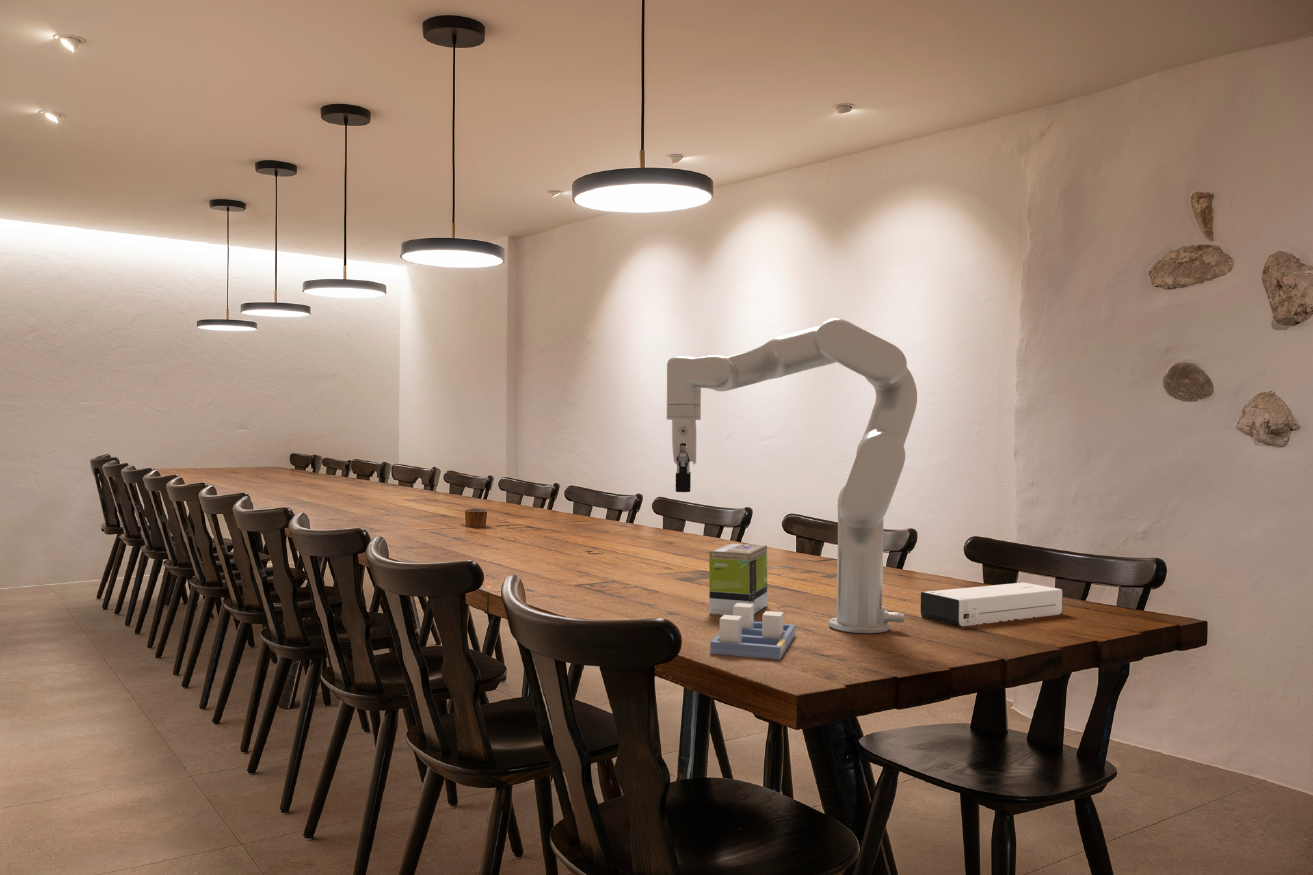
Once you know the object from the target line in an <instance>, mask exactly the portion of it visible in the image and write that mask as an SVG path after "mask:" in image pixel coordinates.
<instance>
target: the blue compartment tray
mask: <svg viewBox="0 0 1313 875" xmlns="http://www.w3.org/2000/svg"><path fill="white" fill-rule="evenodd" d="M795 636H796V623H795V624H792V623H783V636H782V638H777V637H764V636H762V621H755V620H754V628H743V627H742V642H741V643H740V642H728V641H719V633H718V634H717V635H716V636H715V637H714V638H712V640H710V643H709V645H710V649H709V653H710V655H712V654H713V655H722V656H723V655H724V656H732V657H744V658H745V657H746V658H757V659H758V658H759V659H769V660H779V661H780V660H781V659H782V657H783V655H784V654H785V653H786V651H787V649H788V648H789V646H790V644H791V643H792V641H793V639H794V638H795Z"/></svg>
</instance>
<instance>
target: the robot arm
mask: <svg viewBox="0 0 1313 875" xmlns="http://www.w3.org/2000/svg"><path fill="white" fill-rule="evenodd" d="M907 361H908V360H907V358H906V356H905V353H904V352H903V351H902V349H900V348H899V347H898V346H896V345H895V344H893V343H891V342H889V341H887V340H885V339H884V338H882V337H880V336H877V335H875V334H873V333H871V332H869V331H867V330H865V329H863V328H862V327H859V326H858V325H856V324H854V323H851V322H850V321H848V320H845V319H842V318H830V319H828V320H826V321H824V322H822V323H821V325H819V326H815V327H812V328H808V329H805V330H801V331H797V332H793V333H789V334H785V335H781V336H778V337H775V338H772V339H770V340H768V341H767V342H765V343H764V344H763V345H761V346H758V347H756V348H754V349H751V350H748V351H745V352H741V353H737V354H735V355H730V356H723V355H720V354H717V355H715V354H714V355H706V356H701V357H700V356H699V357H693V356H675V357H671V358H669V359H668V360H667V364H666V420H668V421H671V437H672V438H671V443H672V457H673V463H674V465H676V473H675V492H676V493H690V492H691V481H692V480H691V478H692V477H691V476H692V475H691V474H692V473H691V470H690V463H692V465H696V464H697V421H700V420H702V419H701V418H702V417H701V413H702V406H701V404H702V402H701V401H702V395H701V394H702V391H701V390H702V389H709V390H713V391H716V392H727V391H733V390H736V389H738V388H739V389H740V388H743V387H746V386H750V385H751V386H752V385H754V384H757V383H761V382H762V383H763V382H765V381H769V380H774V379H780V378H782V377H786V376H790V375H793V374H797V373H801V372H804V371H808V370H809V371H810V370H811V369H816V368H820V367H824V366H827V365H828V366H829V365H832V364H834V363H838V364H840V365H841V366H843V367H845V368H848V370H850V371H853V372H855V373H856V374H859V375H860V376H862V377H864V378H865V379H866V381H868V383H869V384H871V385H872V387H873V388H874V391H875V400H874V405H873V408H872V411H871V415H870V417H869V420H868V423H867V426H866V429H865V431H864V433H863V435H862V438H861V440H860V441H859V443H858V444H857V448H856V453H855V454H856V455H855V459H854V460H853V461H854V462H853V464H852V467H851V469H850V472H849V475H848V478H847V481H846V484H845V485H844V486H843V487H842V488H841V490H840V492H839V494H838V498H837V560H836V561H837V564H836V565H837V566H836V568H837V570H836V571H837V572H836V575H837V576H836V578H837V579H836V617H835V616H834V617H832V618H830V619H829V621H828V626H829V627H830V628H832V629H835V630H837V631H841V632H847V633H854V634H855V633H856V634H879V633H885V632H889V630H890V623H889V622H892V623H896V624H897V623H898V624H899V623H900V624H904V623H905V614H904V613H900V612H897V611H894V612H893V611H891V612H890V611H888V610H885V605H883V583H884V582H883V581H884V517H885V516H886V513H887V511H888V508H889V506H890V504H891V502H892V498H893V497H894V496H893V495H894V493H895V491H896V489H897V486H898V483H899V479H900V477H901V475H902V472H903V469H904V466H905V462H906V461H905V460H906V450H905V443H906V440H907V437H908V435H909V432H910V429H911V426H912V422H913V419H914V416H915V412H916V409H917V403H918V390H917V386H916V385H917V384H916V383H915V382H916V381H915V379H914V377H913V374H912V372H911V370H910V369H909V368H908V366H907V365H908V363H907Z"/></svg>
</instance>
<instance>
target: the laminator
mask: <svg viewBox="0 0 1313 875" xmlns="http://www.w3.org/2000/svg"><path fill="white" fill-rule="evenodd" d="M1063 590H1064V589H1061V588H1058V587H1057V588H1056V587H1053V586H1052V587H1051V586H1046V585H1041V584H1035V583H1030V582H1017V583H1016V582H1014V583H1005V584H1004V583H1002V584H995V585H994V584H992V585H983V586H973V587H972V586H971V587H962V588H960V587H959V588H950V589H941V590H929V591H928V590H927V591H921V592H920V615H921V617H922V618H925V617H927V618H926V619H929V618H930V620H933V619H934V620H933V621H938V622H941V621H942V623H946V624H949V623H950V624H949V625H953V626H958V627H960V626H961V627H967V626H968V627H969V626H976V624H977V625H984V624H983V623H986V624H993V623H1000V622H999V621H1002V622H1009V621H1008V620H1010V621H1015V620H1014V619H1018V620H1025V618H1026V619H1033V617H1035V618H1040V617H1042V618H1043V617H1048V616H1049V617H1051V616H1059V615H1062V612H1063V602H1064V601H1063V600H1064V599H1063V598H1064V597H1063V596H1064V592H1063Z"/></svg>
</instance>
